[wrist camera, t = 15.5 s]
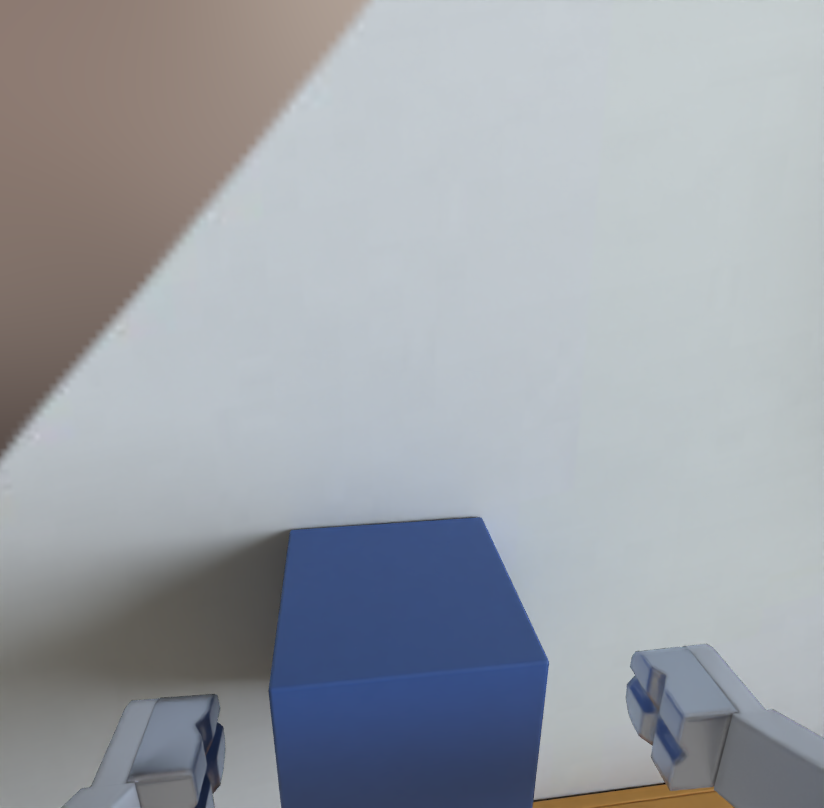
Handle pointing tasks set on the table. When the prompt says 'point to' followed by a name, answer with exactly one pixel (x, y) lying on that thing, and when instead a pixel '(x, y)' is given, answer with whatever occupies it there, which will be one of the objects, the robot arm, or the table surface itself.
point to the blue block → (404, 671)
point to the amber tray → (642, 799)
